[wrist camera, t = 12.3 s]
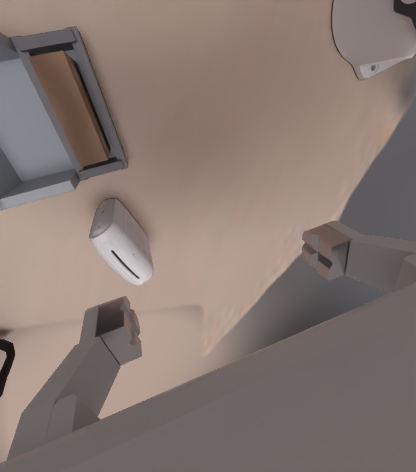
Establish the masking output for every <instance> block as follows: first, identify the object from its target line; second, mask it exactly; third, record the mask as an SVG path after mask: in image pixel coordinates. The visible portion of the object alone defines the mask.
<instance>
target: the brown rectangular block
mask: <svg viewBox="0 0 416 472" xmlns="http://www.w3.org/2000/svg"><path fill="white" fill-rule="evenodd" d="M28 58H29V60H30V62H31V64H32V66H33V68H34V70H35V72H36V75H37V77H38V79H39V81H40V83H41V85H42V87H43V89H44V91H45V93H46V95H47V98H48V100H49V102H50V104H51V106H52V108H53V110H54V112H55V114H56V116H57V119H58V121H59V123H60V125H61V127H62V129H63V131H64V133H65V135H66V137H67V139H68V142H69V144H70V146H71V148H72V150H73V152H74V154H75V156H76V158H77V160H78V163H79V165H80V167H83V166H87V165H91V164H95V163H99V162H102V161H106V160H108V158H109V154H110V150H111V148H110V146H109V143H108V141H107V138H106V136H105V133H104V130H103V128H102V125H101V123H100V120H99V118H98V115H97V113H96V110H95V108H94V105H93V103H92V100H91V97H90V95H89V92H88V90H87V87H86V85H85V82H84V80H83V77H82V75H81V72H80V70H79V67H78V64H77V63H76V62H75V61H74V60H73V59H72V58H71V57H70V56H69V55H67V54H66V53H65V52H64V51H58V52H52V53H47V54H41V55H36V56H30V57H28Z"/></svg>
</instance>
